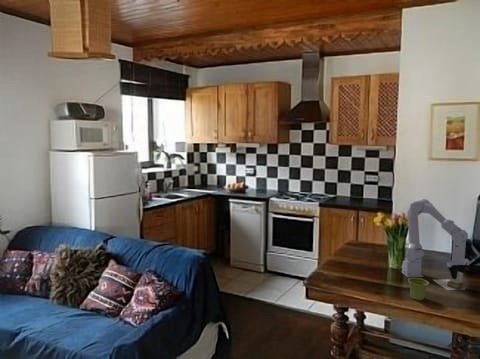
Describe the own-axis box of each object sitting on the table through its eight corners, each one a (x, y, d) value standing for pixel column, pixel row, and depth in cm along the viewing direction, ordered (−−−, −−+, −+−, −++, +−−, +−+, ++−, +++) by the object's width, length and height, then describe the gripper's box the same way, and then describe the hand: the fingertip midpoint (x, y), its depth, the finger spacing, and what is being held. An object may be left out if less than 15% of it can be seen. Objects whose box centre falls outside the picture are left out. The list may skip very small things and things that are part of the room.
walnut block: (457, 289, 206) (457, 285, 206) (447, 285, 211) (447, 281, 211) (465, 288, 208) (465, 283, 208) (454, 283, 214) (455, 279, 214)
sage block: (457, 283, 207) (457, 274, 206) (450, 280, 211) (450, 271, 210) (462, 282, 209) (463, 273, 208) (455, 279, 212) (456, 270, 212)
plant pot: (422, 294, 202) (423, 277, 201) (431, 302, 193) (432, 284, 192) (403, 294, 202) (404, 277, 201) (412, 302, 193) (413, 285, 192)
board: (447, 291, 206) (447, 289, 206) (432, 280, 220) (432, 279, 220) (465, 290, 207) (465, 289, 207) (449, 280, 221) (449, 279, 221)
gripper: (456, 257, 201) (454, 283, 203) (475, 253, 207) (473, 278, 209) (443, 253, 207) (442, 278, 209) (462, 249, 213) (460, 274, 215)
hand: (456, 278), depth 209 cm, fingers closed on sage block, 4 cm apart
